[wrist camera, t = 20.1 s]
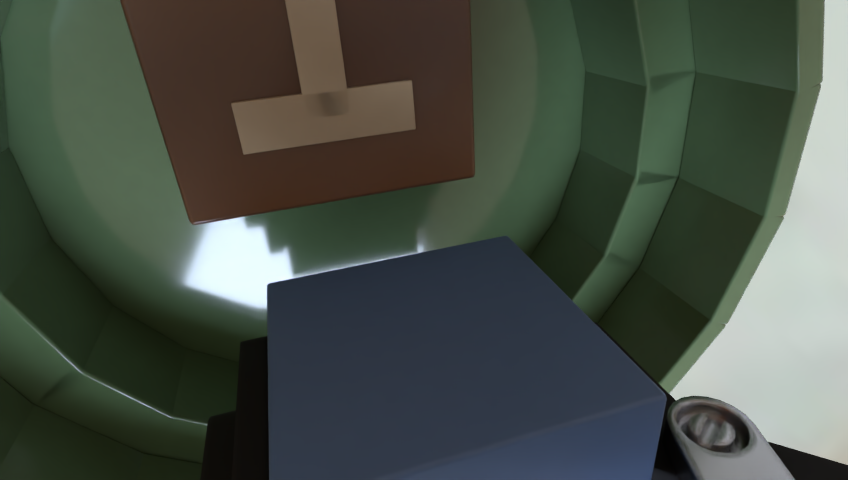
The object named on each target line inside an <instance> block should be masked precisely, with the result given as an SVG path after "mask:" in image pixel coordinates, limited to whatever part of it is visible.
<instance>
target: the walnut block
mask: <svg viewBox="0 0 848 480" xmlns="http://www.w3.org/2000/svg"><path fill="white" fill-rule="evenodd" d="M120 3H121V6H122V9H123V13H124V16H125V19H126V22H127V25H128V28H129V32H130V35H131V38H132V41H133V44H134V47H135V51H136V54H137V57H138V60H139V63H140V66H141V70H142V73H143V76H144V79H145V82H146V86H147V89H148V92H149V95H150V98H151V101H152V105H153V108H154V111H155V114H156V117H157V120H158V124H159V127H160V130H161V133H162V136H163V139H164V143H165V146H166V149H167V152H168V155H169V158H170V162H171V165H172V168H173V171H174V174H175V177H176V181H177V184H178V187H179V190H180V193H181V196H182V200H183V203H184V206H185V209H186V212H187V216H188V219H189V221H190V222H191V224H192V225H199V224H205V223H210V222H216V221H222V220H228V219H234V218H240V217H245V216H251V215H257V214H263V213H269V212H274V211H280V210H286V209H292V208H298V207H304V206H309V205H315V204H321V203H327V202H333V201H338V200H344V199H350V198H356V197H362V196H368V195H373V194H379V193H385V192H391V191H397V190H403V189H408V188H414V187H420V186H426V185H432V184H437V183H443V182H449V181H455V180H461V179H467V178H472V177H474V175H475V148H474V114H473V79H472V44H471V9H470V0H120Z"/></svg>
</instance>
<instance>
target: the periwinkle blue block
mask: <svg viewBox="0 0 848 480" xmlns="http://www.w3.org/2000/svg"><path fill="white" fill-rule="evenodd" d="M267 343H268V421H269V480H651V479H652V473H653V468H654V463H655V458H656V453H657V447H658V442H659V437H660V432H661V427H662V421H663V416H664V411H665V406H666V401H667V398H666V395H665V393H664V392H663V391H662V390H661V389H660V388H659V387H658V386H657V385H656V384H655V383H654V382H653V381H652V380H651V379H650V378H649V377H648V376H647V375H646V374H645V373H644V372H643V371H642V370H641V369H640V368H639V367H638V366H637V365H636V364H635V363H634V362H633V361H632V360H631V359H630V358H629V357H628V356H627V355H626V354H625V353H624V352H623V351H622V350H621V349H620V348H619V347H618V346H617V345H616V344H615V343H614V342H613V341H612V340H611V339H610V338H609V337H608V336H607V335H606V334H605V333H604V332H603V331H602V330H601V329H600V328H599V327H598V326H597V325H596V324H595V323H594V322H593V321H592V320H591V319H590V318H589V317H588V316H587V315H586V314H585V313H584V312H583V311H582V310H581V309H580V308H579V307H578V306H577V305H576V304H575V303H574V302H573V301H572V300H571V299H570V298H569V297H568V296H567V295H566V294H565V293H564V292H563V291H562V290H561V289H560V288H559V287H558V286H557V285H556V284H555V283H554V282H553V281H552V280H551V279H550V278H549V277H548V276H547V275H546V274H545V273H544V272H543V271H542V270H541V269H540V268H539V267H538V266H537V265H536V264H535V263H534V262H533V261H532V260H531V259H530V258H529V257H528V256H527V255H526V254H525V253H524V252H523V251H522V250H521V249H520V248H519V247H518V246H517V245H516V244H515V243H514V242H513V241H512V240H511V239H510V238H509V237H508V236H501V237H496V238H491V239H486V240H481V241H476V242H471V243H466V244H461V245H456V246H452V247H447V248H442V249H437V250H432V251H427V252H422V253H417V254H412V255H407V256H402V257H397V258H392V259H387V260H382V261H377V262H372V263H367V264H362V265H357V266H353V267H348V268H343V269H338V270H333V271H328V272H323V273H318V274H313V275H308V276H303V277H298V278H293V279H288V280H283V281H278V282H273V283H269V284H268V285H267Z"/></svg>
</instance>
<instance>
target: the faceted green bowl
mask: <svg viewBox="0 0 848 480" xmlns="http://www.w3.org/2000/svg"><path fill="white" fill-rule="evenodd" d="M824 7H825V0H470V9H471V44H472V79H473V114H474V148H475V175H474V177H472V178H467V179H461V180H455V181H449V182H443V183H437V184H432V185H426V186H420V187H414V188H408V189H403V190H397V191H391V192H385V193H379V194H373V195H368V196H362V197H356V198H350V199H344V200H338V201H333V202H327V203H321V204H315V205H309V206H304V207H298V208H292V209H286V210H280V211H274V212H269V213H263V214H257V215H251V216H245V217H240V218H234V219H228V220H222V221H216V222H210V223H205V224H199V225H192V224H191V222H190V221H189V219H188V216H187V212H186V209H185V206H184V203H183V200H182V196H181V193H180V190H179V187H178V184H177V181H176V177H175V174H174V171H173V168H172V165H171V162H170V158H169V155H168V152H167V149H166V146H165V143H164V139H163V136H162V133H161V130H160V127H159V124H158V120H157V117H156V114H155V111H154V108H153V105H152V101H151V98H150V95H149V92H148V89H147V86H146V82H145V79H144V76H143V73H142V70H141V66H140V63H139V60H138V57H137V54H136V51H135V47H134V44H133V41H132V38H131V35H130V32H129V28H128V25H127V22H126V19H125V16H124V13H123V9H122V6H121V3H120V0H0V480H200V478H201V470H202V462H203V454H204V446H205V439H206V431H207V424H208V420H209V418H210V417H211V416H215V415H219V414H223V413H227V412H231V411H235V410H236V401H237V386H238V370H239V354H240V343H241V342H242V341H246V340H251V339H255V338H260V337H264V336H267V285H268V284H269V283H273V282H278V281H283V280H288V279H293V278H298V277H303V276H308V275H313V274H318V273H323V272H328V271H333V270H338V269H343V268H348V267H353V266H357V265H362V264H367V263H372V262H377V261H382V260H387V259H392V258H397V257H402V256H407V255H412V254H417V253H422V252H427V251H432V250H437V249H442V248H447V247H452V246H456V245H461V244H466V243H471V242H476V241H481V240H486V239H491V238H496V237H501V236H508V237H509V238H510V239H511V240H512V241H513V242H514V243H515V244H516V245H517V246H518V247H519V248H520V249H521V250H522V251H523V252H524V253H525V254H526V255H527V256H528V257H529V258H530V259H531V260H532V261H533V262H534V263H535V264H536V265H537V266H538V267H539V268H540V269H541V270H542V271H543V272H544V273H545V274H546V275H547V276H548V277H549V278H550V279H551V280H552V281H553V282H554V283H555V284H556V285H557V286H558V287H559V288H560V289H561V290H562V291H563V292H564V293H565V294H566V295H567V296H568V297H569V298H570V299H571V300H572V301H573V302H574V303H575V304H576V305H577V306H578V307H579V308H580V309H581V310H582V311H583V312H584V313H585V314H586V315H587V316H588V317H589V318H590V319H591V320H592V321H593V322H596V323H597V324H598V325H600V326H601V327H602V328H603V329H604V330H605V331H606V332H607V333H608V334H609V335H610V336H611V337H612V338H613V339H614V340H615V341H616V342H617V343H618V344H619V345H620V346H621V347H622V348H623V349H624V350H625V351H626V352H627V353H628V354H629V355H630V356H631V357H632V358H633V359H634V360H635V361H636V362H637V363H638V364H639V365H640V366H641V367H642V368H643V369H644V370H645V371H646V372H647V373H648V374H649V375H650V376H651V377H652V378H653V379H654V380H655V381H657V382H658V383H659V384H660V385H661V386H662V387H663V388H664V389H665V390H666V391H667V392H668V393H669V394H670V392H671V391H672V390H673V389H674V388H675V386H676V385H677V384H678V383H679V382H680V380H681V379H682V378H683V377H684V376H685V374H686V373H687V372H688V371H689V370H690V368H691V367H692V366H693V365H694V364H695V362H696V361H697V360H698V359H699V358H700V356H701V355H702V354H703V353H704V352H705V350H706V349H707V348H708V347H709V346H710V344H711V343H712V342H713V341H714V340H715V338H716V337H717V336H718V335H719V334H720V332H721V331H722V330H723V329H724V328H725V326H726V325H725V324H727V323H728V322H729V320H730V318H731V316H732V314H733V313H734V311H735V309H736V307H737V305H738V303H739V301H740V300H741V298H742V296H743V294H744V292H745V290H746V288H747V286H748V285H749V283H750V281H751V279H752V277H753V275H754V273H755V272H756V270H757V268H758V266H759V264H760V262H761V260H762V258H763V257H764V255H765V253H766V251H767V249H768V247H769V245H770V243H771V242H772V240H773V238H774V236H775V234H776V232H777V230H778V229H779V227H780V225H781V223H782V221H783V219H784V217H783V216H784V215H785V214H786V211H787V207H788V204H789V200H790V196H791V193H792V189H793V186H794V182H795V178H796V175H797V171H798V168H799V164H800V160H801V157H802V153H803V150H804V146H805V142H806V139H807V135H808V132H809V128H810V124H811V121H812V117H813V114H814V110H815V106H816V103H817V99H818V96H819V92H820V88H821V84H820V83H821V82H822V80H823V44H824Z"/></svg>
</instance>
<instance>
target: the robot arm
mask: <svg viewBox="0 0 848 480" xmlns="http://www.w3.org/2000/svg"><path fill="white" fill-rule="evenodd" d="M594 323H595V324H596V325H597V326H598V327H599V328H600V329H601V330H602V331H603V332H604V333H605V334H606V335H607V336H608V337H609V338H610V339H611V340H612V341H613V342H614V343H615V344H616V345H617V346H618V347H619V348H620V349H621V350H622V351H623V352H624V353H625V354H626V355H627V356H628V357H629V358H630V359H631V360H632V361H633V362H634V363H635V364H636V365H637V366H638V367H639V368H640V369H641V370H642V371H643V372H644V373H645V374H646V375H647V376H648V377H649V378H650V379H651V380H652V381H653V382H654V383H655V384H656V385H657V386H658V387H659V388H660V389H661V390H662V391H663V392H664V393H665V395H666V398H667V401H666V406H665V411H664V416H663V421H662V427H661V432H660V437H659V442H658V447H657V453H656V458H655V463H654V468H653V473H652V479H651V480H848V465H845V464H842V463H838V462H835V461H832V460H828V459H825V458H821V457H818V456H815V455H811V454H808V453H804V452H801V451H798V450H794V449H791V448H787V447H784V446H781V445H777V444H774V443H770V442H767V440H766V439H765V438H764V436H763V435H762V434H761V432H760V431H759V429H758V428H757V427H756V425H755V424H754V423H753V422H752V421H751V420H750V419H749V418H748V417H747V416H746V414H744V413H743V412H741V411H740V410H738V409H737V408H735V407H734V406H732V405H730V404H727V403H725V402H723V401H721V400H717V399H713V398H709V397H703V396H690V397H684V398H681V399H679V400H677V401H676V400H675V399H674V398H673V397H672V396H671V395H670V394H669V393H668V392H667V391H666V390H665V389H664V388H663V387H662V386H661V385H660V384H659V383H658V382H657V381H655V380H654V379H653V378H652V377H651V376H650V375H649V374H648V373H647V372H646V371H645V370H644V369H643V368H642V367H641V366H640V365H639V364H638V363H637V362H636V361H635V360H634V359H633V358H632V357H631V356H630V355H629V354H628V353H627V352H626V351H625V350H624V349H623V348H622V347H621V346H620V345H619V344H618V343H617V342H616V341H615V340H614V339H613V338H612V337H611V336H610V335H609V334H608V333H607V332H606V331H605V330H604V329H603V328H602V327H601V326H600V325H598V324H597V323H596V322H594ZM200 480H269V421H268V343H267V336H264V337H260V338H255V339H251V340H246V341H242V342H241V343H240V354H239V370H238V386H237V401H236V410H235V411H231V412H227V413H223V414H219V415H215V416H211V417H210V418H209V420H208V424H207V431H206V439H205V446H204V454H203V462H202V470H201V478H200Z"/></svg>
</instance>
